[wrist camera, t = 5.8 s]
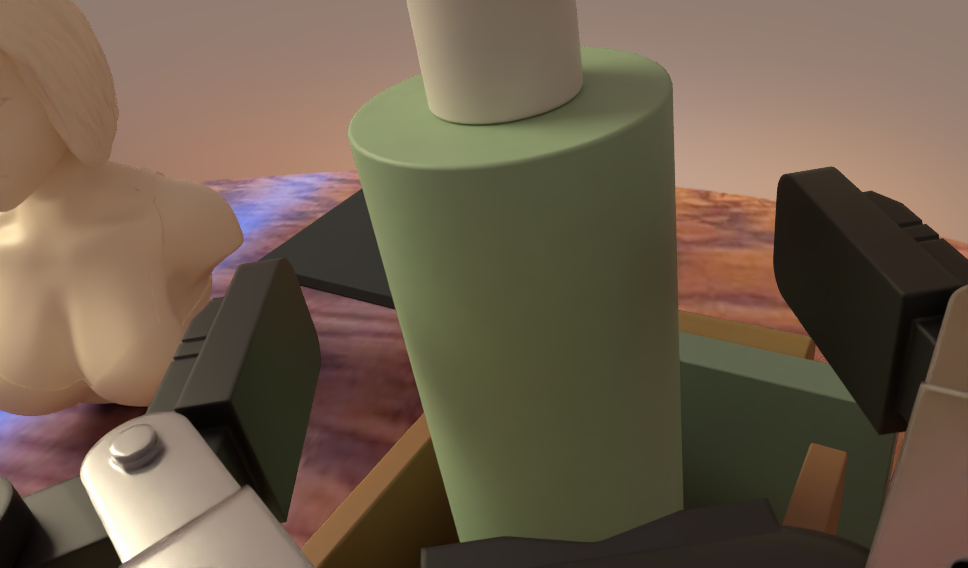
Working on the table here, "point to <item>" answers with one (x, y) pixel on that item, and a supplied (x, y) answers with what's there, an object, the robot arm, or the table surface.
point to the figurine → (88, 229)
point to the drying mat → (340, 254)
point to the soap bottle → (533, 266)
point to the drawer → (705, 452)
